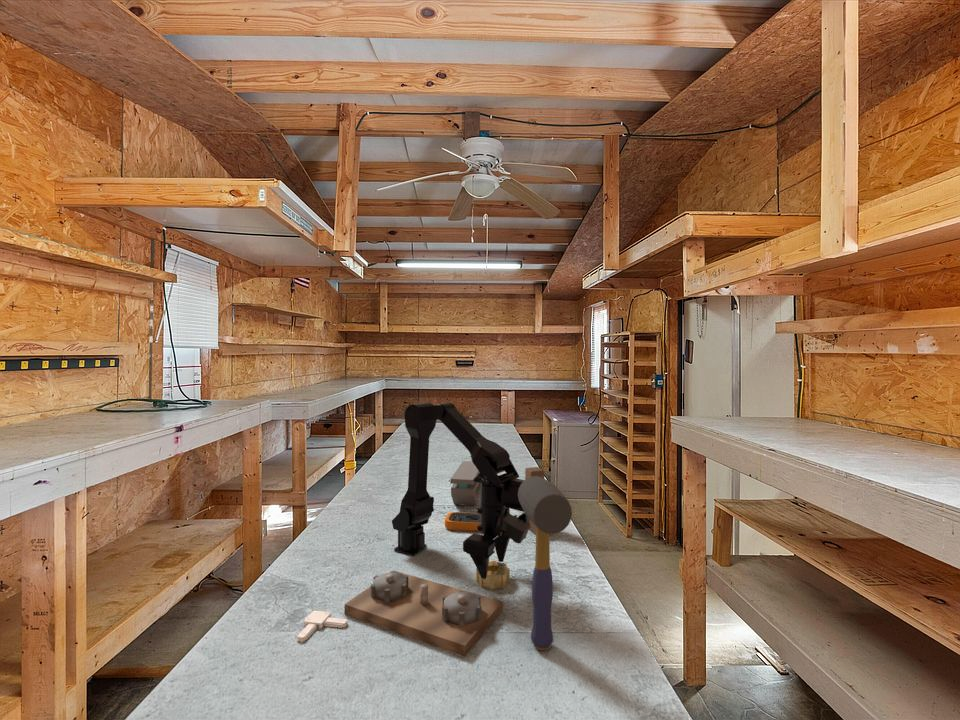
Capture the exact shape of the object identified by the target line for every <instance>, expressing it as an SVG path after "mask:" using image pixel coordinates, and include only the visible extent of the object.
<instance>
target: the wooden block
mask: <svg viewBox="0 0 960 720" xmlns="http://www.w3.org/2000/svg"><path fill="white" fill-rule="evenodd" d="M524 471H525V473H524V474H525V476H524V477H525V478H524V480H526V479H527V478H529V477H533V476H538V477H542V478H544V479H545V470H544V469H542V468H541V467H538V466H535V467H525V469H524ZM529 521H530V523H531V524H530V526H531V528H530V529H529V530H528V531H530V532H531V533H532V534H534V536H536V525H535V524H534V523H533V522H532V521H531V520H530V519H529ZM551 535H552V534H550V536H551Z"/></svg>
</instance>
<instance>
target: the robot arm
mask: <svg viewBox="0 0 960 720" xmlns="http://www.w3.org/2000/svg"><path fill="white" fill-rule="evenodd" d="M437 420H439V421H441V423H442V424H443V425H444V426H445V427H446V428H447V430H449V432H451V433H452V434H453V436H454V437H455V438H456V439H457V440H458V441H459V442H460V443H461V444H462V445H463V446H464V448H466V450H467V451H468V452H469V454H470V459H471V461H472V462H473V463H474V465H475V466H476V468H477V469H478V471H479V472H480V473H479V475H478V476H476V477H475V478H474V479H473V481H474V482H478V483H481V496H480V506H479V507H478V508H477V513H481V524H480V525H478V526H477V531H476V532H479V531H482V534H479V533H475V532H474V533H472V534H471V535H469V536H468V537H467V538H465V539H464V540H463V541H462V551H463V552H464V553H466V554H468V555H469V556H470V558H471V560H472V561H473V563H474V565H475V567H476V568H477V570H478V572H479V574H480V576H481V578H483V579H486V577H487V572H488V564H489V562H490V557H491V556H493V554H495V553H496V556H497V559H498V562H500V563H504V560H505V557H506V553H507V550H508V546H509V544H510V539H511V540H512V542H514V543H516V544H521V543H522V542H523V541H524V540H525V539H526V537H527V535H528V532H529V531H530V530H529V529H530V528H531V526H530V524H531V523H530V521H529V518H528V517H527V515H526V514H525V512H524V510H523V508H522V506H521V504H520V502H519V500H518V490H519V487H520V485H521V483H522V482H523V481H524V480H525V479H520V475H519V472H518V471H517V469H516V468H515V466H514V464H513V462H512V460H511V459H510V457H511V456H510V454H509V452H508V451H507V449H505V448H504V447H502V446H501V445H500V444H498V443H497V442H494V441H492V440H490V439H488V438H486V437H485V436H484V435H482V433H480V432H479V430H477V428H476V427H474V425H473V424H472V423H471V422H470V421H468V419H467V418H466V417H465V416H464V415H463V413H461V412H460V411H459V410H458V409H457V407H456V405H455V404H454V403H452V402H444V403H443V402H441V403H438V404H435V405H434V404H433V403H432V402H421V403H412V404H409V405H408V406H407V407H406V408H405V410H404V426H405V429H406V431H407V433H408V434H409V437H410V439H409V440H410V441H409V457H408V459H409V461H408V479H407V490H406V492H405V494H404V496H403V497H402V499H401V503H400V508H399V512H398V513H397V514H396V515H395V517H394V518H393V519H391V524H392V529H393V530H395V531H397V547H394V549H393V550H394V552H397V553H403V554H405V555H409V556H415V555H417V554H418V553H420V552H421V551H422V550H425V549H426V548H427V546H428V545H427V544H426V543H425V542H426V537H425V536H426V533H425V532H424V530H425V529H424V525H427V524H429V520H430V518H431V517H432V516H433V515H432V514H433V513H434V511H435V509H434V508H435V507H434V502H435V498H434V496H431V495H430V494H429V491H428V488H427V487H428V484H427V483H428V471H429V470H428V468H429V466H428V465H429V453H430V451H429V449H430V438H431V435H432V434H433V431H434V430H435V428H436V424H437ZM504 472H505V473H504ZM501 473H502V474H501ZM499 474H500V475H499ZM511 510H516V511H519V512H522V513H521V514H520V515H519V516H518V515H517V514H514V515H513V514H511V513H510V512H511Z"/></svg>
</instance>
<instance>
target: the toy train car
mask: <svg viewBox="0 0 960 720" xmlns="http://www.w3.org/2000/svg"><path fill="white" fill-rule="evenodd" d="M479 473H480V472H479V471H478V469H477V468H476V466H475V465H474V463H473V462H472V460H462V462H461V463H460V464H459V466H458V468H457V469H456V471H455V472H454V473H453V475H452V476H451V477H450V479H449V480H450V482H449V483H450V484H451V485H452V486H451V487H450V496H451V499H452V502H453V505H454V504H464V505H463V506H474V505H476V504H477V505H478V503H479V500H480V498H481V496H480V495H481V483H478V482H474V481H473V479H474V478H475V477H476V476H478V475H479ZM479 497H480V498H479ZM478 499H479V500H478ZM477 502H478V503H477ZM477 505H476V506H477Z"/></svg>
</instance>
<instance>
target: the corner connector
mask: <svg viewBox="0 0 960 720" xmlns="http://www.w3.org/2000/svg"><path fill="white" fill-rule="evenodd" d="M331 616H332V612H330V611H323V610H313V611H312V612H311V613H309V615H307V616H306V618H305V619H304V620H303V627H304V628H303V629H302V630H301V631H300V632H299V634H297V635H296V636H297V637H296V639H297V642H298V641H300V643H303V641H304V642H305V641H307V640H308V639H309V638H310V637H311V636H312V635H313V633H315V631H316V630H317V629H319V628H321V629H320V630H322V629H323V628H322V627H331V628H337V627H338V629H339V628H341V629H342V627H344V628H346V627H347V626H348V619H345V618H340V617H331ZM346 625H347V626H346ZM345 626H346V627H345Z"/></svg>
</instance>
